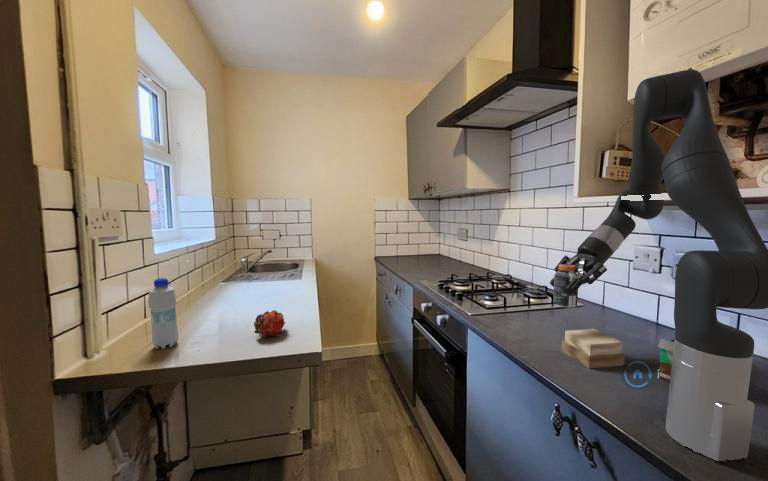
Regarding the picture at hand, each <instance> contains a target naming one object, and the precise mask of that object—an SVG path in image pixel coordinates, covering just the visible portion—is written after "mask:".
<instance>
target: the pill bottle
mask: <svg viewBox="0 0 768 481" xmlns="http://www.w3.org/2000/svg"><path fill="white" fill-rule="evenodd" d="M577 274H578V273H575V266H574V265H568V264H560V265H559V271H558V272H556V271H555V273H554V277H553V278H554V287H553V296H552V298H553V300H552V303H553V304H554V305H555V306H558V307H561V308H562V307H563V308H575V307H577V306H578V298H579V297H578V296H579V288H578V289H577V290H576V291H575V292H574V293H573V294H572V293H569V292H568V291H567V289H566V287H567V286H568V285H569V284H570V283H571V282H572V281H573V280H574V279H577V278H576V277H577Z"/></svg>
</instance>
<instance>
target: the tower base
mask: <svg viewBox="0 0 768 481" xmlns="http://www.w3.org/2000/svg"><path fill="white" fill-rule="evenodd" d="M564 332H565V333H564V339H563V340H561V345H560V346H561V349H560V351H561V352H562V353H564V354H566V355H567V356H569V357H570V358H572V359H574V360H575V361H577V362H578V363H580V365H583V366H584V367H586V368H587V369H600V368H610V367H611V368H612V367H621V366H622V365H625V358H626V357H625V356H626V354H625V353H623V352H622V350H623V349H622V348H623V342H622V341H620V340H619V339H617V338H614V337H613V336H610V335H608V334H605V332H601V331H600V330H597V329H596V328H587V329H584V328H583V329H572V330H565V331H564Z"/></svg>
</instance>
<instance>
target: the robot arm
mask: <svg viewBox="0 0 768 481" xmlns="http://www.w3.org/2000/svg"><path fill="white" fill-rule="evenodd" d="M709 98H710V97H709V93H708V89H707V86H706V81H705V79H704V77H703V75H702V73H701V72H700V71H699V70H697V69H684V70H680V71H675V72H670V73H665V74H661V75H655V76H652V77H649V78H645V79H643V80H641V81H640V83H639V84H638V85H637V87H636V90H635V94H634V99H633V108H632V109H633V110H632V137H631V138H632V139H631V140H632V153H631V154H632V155H631V156H632V157H631V164H630V169H629V172H628V173H629V174H628V179H627V185H628V188H626V189H624V190H623V191H622V192H620V194H619V195H618V197H617V199H616V201H615V204H614V206H613V207H612V210H611V211H610V213H609V215H608V216H607V217H606V218H605V220H603V221H602V223H601V224H600V225H599V226H598V227H596V229H594V230H593V231H592V232H591V233H590V234H589V235H588V236H587V237H586V239H584V241H582V242H581V244H580V245H579V246H578V247H577V249H576V250H577V251H576V252H577V254H575V255H573V256H572V257H570V256H568V255H564V256H563V257H562V258H561V260H560V261H559V262H558V263H557V265H556V266H555V268H553V269H554V272H555V273H556V272H558V271H559V265H560V264H568V265H574V266H575V273H576V274H577V277H576V278H577V279H574V280H573V281H572V282H571V283H570V284H569V285H568V286H567V287H566V289H567V291H568V292H569V293H572V294H573V293H574V292H575V291H576V290H577V289H578V290H579V289H580V287H581V286H583V285H586V284H588V285H592V284H594V283H595V282H596V281H597V280H598V279H599V278H600V277H601V276H602V275H603V274H605V273H606V272H607V271H608V268H607V267H606V266H605V265H604V264H605V263H606V262H607V261H608V260H609V259H610V258H611V257H612V256H613V254H615V252H617V250H618V249H619V248H620V247H621V245H622V244H623V242H624V241H626V239H627V238H628V237H629V235H630V234H632V233H633V231H634V230H635V229H636V226H637V224H636V221H635V220H634V219H633V218H632V217H631V216H634V217H637V218H638V219H639V218H640V219H642V220H652V219H655V218H656V217H658V216H659V215H660V214H661V212H662V211H663V208H664V204H665V200H649V199H650V198H651V195H650V194H661V193H663V194H664V192H663V186H662V184H663V183H662V181H663V182H664V186H665V190H666V193H667V196H669V199H670V200H671V201H672V202H673V203H674V204H675V206H676V207H677V208H679V209H680V210H681V211H682V212H684V213H685V214H686V215H687V216H689V218H691V219H693V221H695V222H696V223H698V224H699V225H700V226H701V227H702V228H704V230H705V231H706V232H707V233H708V234H709V235H710V237H711V238H712V239H713V242H714V243H715V245H716V247H717V249H718V250H705V249H704V250H696V249H695V250H690V251H687V252H686V253H684V254H683V255H682V256H681V257H680V258H679V259H678V260H679V261H678V263H677V265H676V269H675V275H674V276H675V278H674V280H675V281H674V305H673V306H674V307H673V322H674V328H675V330H674V331H675V332H674V339H675V340H674V339H673V340H674V350H673V359H672V368H671V378H670V382H669V388H668V389H669V390H668V398H667V405H666V406H667V410H666V420H665V431H666V433H667V434H668V435H669V436H670V437H671V439H673V440H674V441H675V442H677V443H678V444H680V445H681V446H683V447H685V446H686V447H688V448H690V449H692V450H693V451H692V450H691V451H692V452H695V453H697V452H698V453H697V454H699V453H701V454H700V455H702V454H703V455H702V456H705V457H707V458H709V459H711V458H712V459H714V460H716V461H723V462H727V461H726V460H730V461H737V460H743V459H742V458H744V459H747V458H746V457H748V458H749V451H750V442H751V434H752V429H753V428H752V427H753V420H754V413H755V402H753V401H752V400H748V397H749V396H748V395H749V388H750V380H751V374H752V366H753V361H754V360H753V359H754V352H755V340H754V338H753V337H752V335H751V334H749V333H747V332H745V331H743V330H741V329H739V328H736V327H733V326H731V325H729V324H726V323H722V322H720V321H719V320H718V316H717V315H718V314H717V308H725V309H726V308H727V309H740V310H743V309H744V310H766V309H768V247H767V245H766V243H765V241H764V240H763V238H762V236H761V234H760V232H759V231H758V229H757V227H756V225H755V223H754V221H753V220H752V218H751V216H750V214H749V211H748V209H747V206H746V204H745V202H744V199H743V197H742V195H741V192H740V189H739V186H738V184H737V183H738V182H737V180H736V176H735V173H734V171H733V168H732V165H731V161H730V159H729V157H728V155H727V152H726V150H725V148H724V146H723V143H722V141H721V139H720V135H719V132H718V130H717V128H716V124H715V120H714V118H713V113H712V108H711V107H712V106H711V102H710V99H709ZM678 117H679V118H682V120H683V124H684V125H683V127H682V130H681V132H680V134H679V136H678V137H677V138H676V139H675V141H674V143H673V144H672V145H671V147H670V148H669V149H668V151H667V153H666V154H665V152H664V150H663V149H662V147H661V146H660V145H659V143H658V142H657V141H656V139H655V138H654V136H653V134H652V130H651V123H652V122H653V121H660V120H667V119H672V118H678ZM627 195H641V196H642V195H644V196H642V198H643V201H630V200H621V196H627ZM629 215H630V216H629ZM549 284H550V285H551V286H552V287H553V288H554V277H553V278H551V280H550V281H549ZM686 447H685V448H686ZM688 448H687V449H688ZM690 449H689V450H690ZM712 459H711V460H712ZM735 459H736V460H735ZM714 460H713V461H714ZM724 460H725V461H724Z"/></svg>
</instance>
